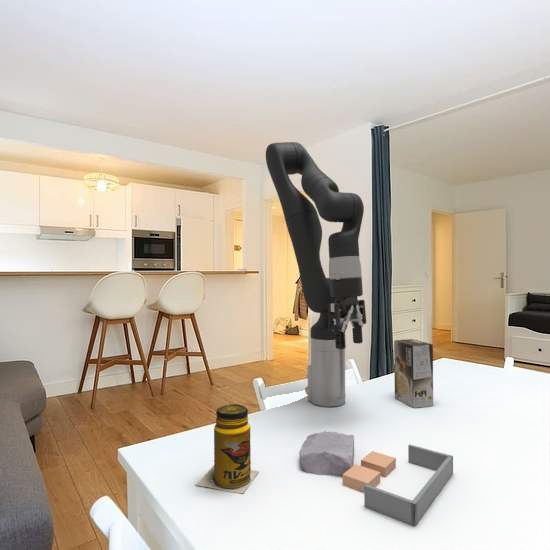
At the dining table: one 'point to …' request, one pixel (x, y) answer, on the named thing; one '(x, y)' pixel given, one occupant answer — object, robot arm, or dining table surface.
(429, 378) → the coffee box
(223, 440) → the condiment
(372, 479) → the tile
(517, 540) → the dining table surface
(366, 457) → the tile
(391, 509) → the frame
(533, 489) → the dining table surface
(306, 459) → the stone block
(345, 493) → the dining table surface
